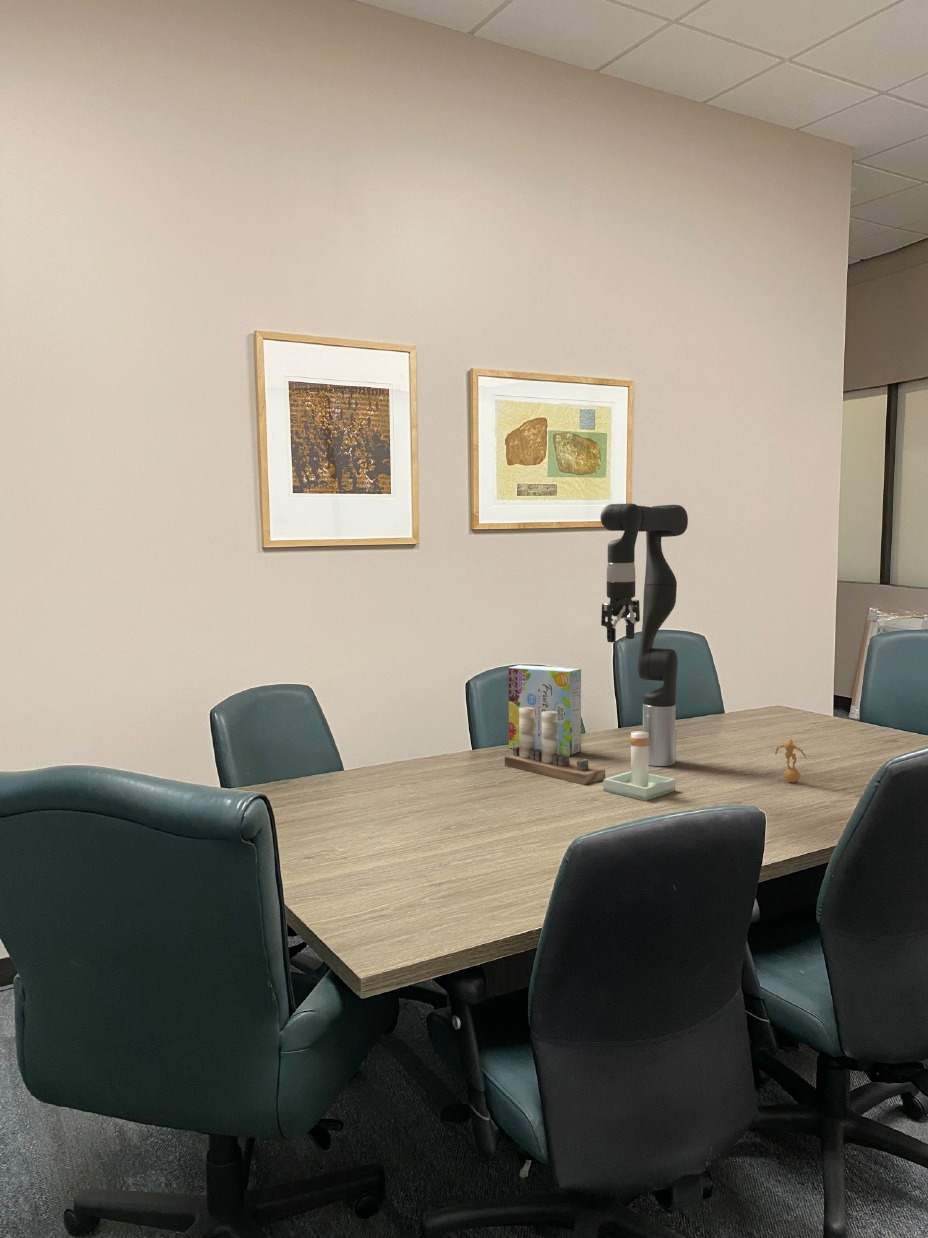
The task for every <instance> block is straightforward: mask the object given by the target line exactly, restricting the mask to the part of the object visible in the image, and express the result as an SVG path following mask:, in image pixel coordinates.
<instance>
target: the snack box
mask: <svg viewBox="0 0 928 1238" xmlns="http://www.w3.org/2000/svg"><path fill="white" fill-rule="evenodd" d="M522 707H532V708H535V749H541V750H542V712H544V711H555V712H557V754H564V755H569V756H572V755H575V754H578V753H579V752H581V751H582V735H581V734H582V728H581V727H582V668H570V667H558V666H546V665H545V666H543V665H542V666H540V665H524V664H523V665H522V664H521V665H520V664H519V665H515V666H509V667H508V749H511V748H513V747H514V746H519V708H522Z"/></svg>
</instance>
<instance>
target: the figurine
mask: <svg viewBox="0 0 928 1238" xmlns="http://www.w3.org/2000/svg"><path fill="white" fill-rule="evenodd" d="M783 747H784V748H785V751H786V752H784V755H785V759H786V766H787V768H786V769H785V771H784V775H783V777H784V779H785V780H786V782H789V783H790V784H793V783H794V784H795V783H797V782H799V780H800V779H801V773H800V771H799V770H798V769H797V767H796V766H795V765H796V762H797V760H798V759H797V756H796V753H794V750H797V751H799V752H800V753H801V754H802V755H803V757H805V760H808V758H807V755H806V754H805V753H804V752H803V750H802V749H801V748H799V747H798V746H796V745H795V744H794V743H793V738H790V739H789V740H788V741H787V742H785V743H782V744H780V745H777V746H776V749H775V752H774V755H778V754H779V753H778V752H779V751H778V750H779V749H780V748H783ZM790 759H792V760H793V762H792V767H791V766H790Z"/></svg>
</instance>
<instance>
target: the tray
mask: <svg viewBox="0 0 928 1238" xmlns="http://www.w3.org/2000/svg"><path fill="white" fill-rule="evenodd" d="M602 789H603V791H604V792H608V793H610V794H611V793H612V794H616V795H620V796H623V797H627V798H632V799H636V800H641V801H645V802H647V801H650V800H653V799H656V798H658V797H661V796H664V795H667V794H670V793H673V792H676V778H671V777H667V776H662V775H657V774H654V773H649V772H648V787H641V786H636V785H632V784H631V770H629V771H626V772H623V773H619V774H615V775H613V776H609V777H607V778H606V777H605V779H603V788H602Z"/></svg>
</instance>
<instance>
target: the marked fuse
mask: <svg viewBox="0 0 928 1238" xmlns="http://www.w3.org/2000/svg"><path fill="white" fill-rule="evenodd" d="M648 746H649V733H648V732H644V731H643V730H642V731H641V730H639V731H637V730H635V731H631V732H630V771H631V784H632V785H636V786H641V787H648V773H649V765H648Z"/></svg>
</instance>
